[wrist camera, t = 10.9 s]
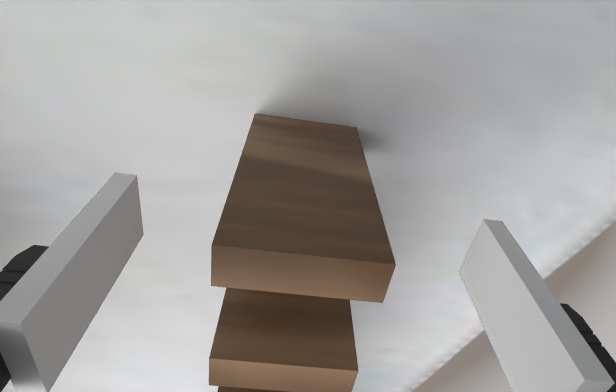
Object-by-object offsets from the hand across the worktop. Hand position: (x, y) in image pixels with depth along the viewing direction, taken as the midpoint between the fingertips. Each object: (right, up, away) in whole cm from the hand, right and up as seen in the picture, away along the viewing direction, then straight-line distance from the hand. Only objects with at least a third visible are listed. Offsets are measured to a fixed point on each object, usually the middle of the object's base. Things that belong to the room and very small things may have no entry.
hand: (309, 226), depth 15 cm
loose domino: (0, +5, +8) cm, 10 cm away
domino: (-1, 0, +11) cm, 11 cm away
